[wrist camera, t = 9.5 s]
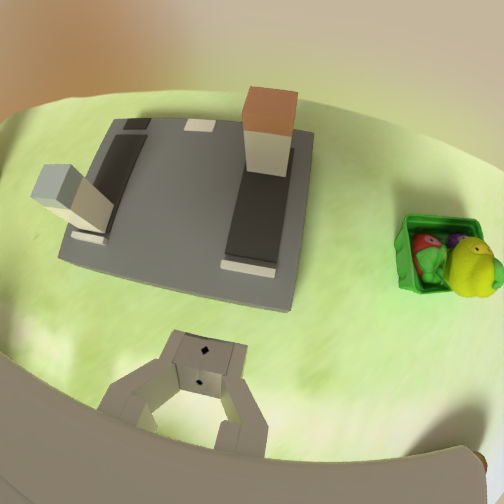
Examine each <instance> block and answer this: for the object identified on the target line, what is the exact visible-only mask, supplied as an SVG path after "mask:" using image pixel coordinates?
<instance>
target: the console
mask: <svg viewBox="0 0 504 504" xmlns="http://www.w3.org/2000/svg"><path fill="white" fill-rule="evenodd" d="M313 139H314V133H312V132H306V131H301V130H295V129H293V132H292V139H291V145H290V152H289V158H288V165H287V171H286V177H281V176H275V175H269V174H262V173H256V172H249V171H247V166H246V154H245V142H244V130H243V122H234V121H222V120H208V119H187V118H130V119H114V120H113V122H112V124H111V126H110V128H109V130H108V131H107V133H106V135H105V137H104V139H103V141H102V143H101V145H100V147H99V149H98V151H97V153H96V155H95V157H94V160H93V162H92V164H91V166H90V168H89V171H88V173H87V175H86V179H87V180H88V181H89V182H90V183H91V184H92V185H93V186H94V187H95V188H96V189H97V190H98V191H99V192H100V193H101V194H103V195H104V196H105V197H106V198H107V199H108V200H109V201H110V202H111V203H112V204H113V205H114V207H113V210H112V213H111V216H110V219H109V222H108V225H107V228H106V232H105V234H104V233H98V232H93V231H88V230H83V229H79V228H77V227H75V226H74V225H72V224H71V223H69V222H68V225H67V228H66V231H65V234H64V238H63V241H62V244H61V248H60V251H59V255H58V258H59V259H62V260H64V261H66V262H69V263H71V264H74V265H76V266H79V267H83V268H86V269H90V270H93V271H97V272H100V273H104V274H108V275H111V276H115V277H119V278H123V279H127V280H131V281H135V282H139V283H143V284H147V285H151V286H155V287H159V288H163V289H168V290H172V291H177V292H181V293H185V294H190V295H195V296H199V297H204V298H209V299H214V300H219V301H223V302H229V303H234V304H239V305H244V306H249V307H255V308H260V309H266V310H272V311H278V312H283V313H287V312H289V311H291V307H292V301H293V295H294V289H295V283H296V276H297V270H298V263H299V257H300V250H301V243H302V235H303V228H304V221H305V213H306V205H307V196H308V188H309V179H310V170H311V160H312V150H313Z"/></svg>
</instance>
